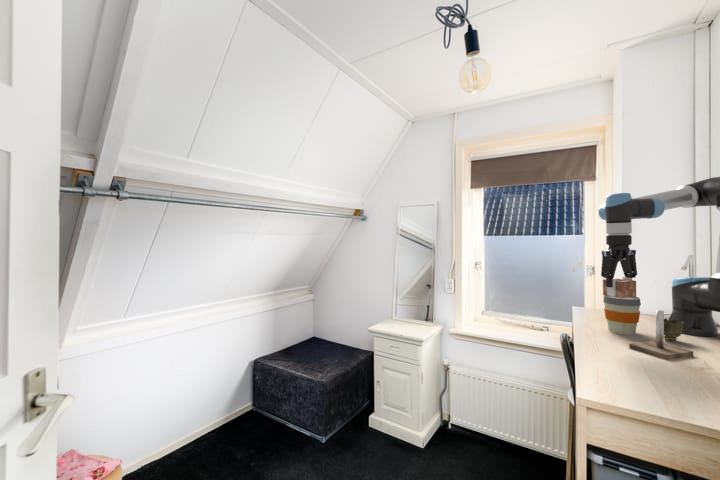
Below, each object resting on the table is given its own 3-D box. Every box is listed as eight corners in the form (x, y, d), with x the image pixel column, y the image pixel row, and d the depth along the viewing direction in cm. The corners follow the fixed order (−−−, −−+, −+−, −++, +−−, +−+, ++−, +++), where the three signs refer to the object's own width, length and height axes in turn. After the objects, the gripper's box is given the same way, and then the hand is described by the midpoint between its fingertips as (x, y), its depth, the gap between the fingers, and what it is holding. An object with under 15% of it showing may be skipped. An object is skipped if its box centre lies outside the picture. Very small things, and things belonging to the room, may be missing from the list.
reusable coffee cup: (601, 331, 139) (600, 297, 139) (606, 325, 147) (605, 293, 147) (639, 338, 130) (639, 300, 130) (642, 331, 138) (642, 296, 138)
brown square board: (653, 344, 122) (653, 340, 122) (693, 356, 110) (693, 351, 110) (629, 348, 119) (629, 343, 119) (667, 359, 107) (667, 355, 107)
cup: (689, 343, 122) (689, 322, 122) (666, 342, 124) (666, 322, 124) (674, 337, 129) (674, 317, 129) (653, 336, 131) (652, 317, 131)
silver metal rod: (658, 346, 115) (658, 309, 115) (665, 348, 114) (665, 311, 113) (654, 346, 115) (654, 310, 115) (661, 348, 113) (660, 311, 113)
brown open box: (617, 293, 126) (617, 278, 126) (636, 296, 120) (636, 280, 120) (603, 294, 125) (602, 279, 125) (621, 298, 118) (621, 281, 118)
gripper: (628, 234, 128) (629, 292, 128) (588, 235, 123) (589, 295, 124) (649, 233, 121) (650, 295, 121) (607, 235, 116) (608, 298, 116)
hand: (619, 295), depth 122 cm, fingers closed on brown open box, 7 cm apart
